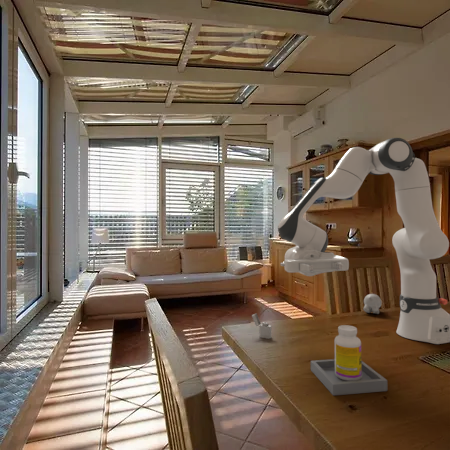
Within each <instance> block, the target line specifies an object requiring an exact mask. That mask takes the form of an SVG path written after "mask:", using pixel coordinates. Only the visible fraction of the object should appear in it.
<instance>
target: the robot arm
mask: <svg viewBox="0 0 450 450" xmlns="http://www.w3.org/2000/svg"><path fill="white" fill-rule="evenodd" d="M369 174H370V175H374V176H381V175H385V174H389V175H390V176H391V177H392V179H393V183H394V194H395V201H396V211H397V214H398V215H399V216H400V218H401V220H402V223H403V226H404V227H402V228H400V229H399V230H397V231H396V232H395V233H394V234H393V236H392V238H391V239H392V241H391V242H392V243H391V244H392V246H393V247H394V250H395V252H396V258H397V261H398V267H399V271H400V294H399V309H400V313H399V321H398V324H397V329H396V331H395V332H396V334H397V335H399V336H400V337H402V338H405V339H409V340H412V341H419V342H424V343H430V344H434V345H440V344H441V345H442V344H447V343H450V313H448V312H447V311H446V310H445V309H444V308H442V305H443V306H446V305H447V303H448V299H445V298H443V297H441V298H439V297H437V275H436V272H435V271H434V270H433V267H432V264H431V261H430V260H435V259H439V258H441V257H444V256H445V255H446V253H447V252H448V250H449V247H450V242H449V239H448V237H447V235H446V234H445V233H444V232H443V231H442V229H441V227H440V224H439V221H438V220H437V217H436V215H435V210H434V207H433V201H432V193H431V185H430V177H429V173H428V171H427V166H426V164H425V162H424V161H423V160H422V159H420V158H417V157H416V155H415V153H414V152H413V149H412V146H411V145H410V143H409V142H408V141H407V140H406V139H405V138H401V137H391V138H388V139H386V140H384V141H380V142H379V143H377V144H376V145H374V146H373V147H371V148H369V149H366V148H363V147H361V146H353V147H351V148H349V149H348V150H347V151H346V152H345V153H344V155H343V156H342V157H341V158H340V159H339V161H338V163H336V166H335V167H334V169H333V170H332V172H331V173H330V174H329V175H327V176H326V177H320V178H318V179H317V180H316V181H314V183H313V184H312V185H311V186H310V187H309V188H308V189H307V190H306V191H305V192H304V194H303V195H302V196H301V197H300V198H299V200H298V201H297V202H296V203H295V205H294V206H293V207H292V208H291V209H290V210H289V211H288V212H287V214H285V216H283V217H282V218H281V220H280V222H279V223H278V225H277V232H278V234H279V236H280V237H279V238H281V239H282V240H285V241H287V242H288V243H291V244H293V245H295V246H293V247H290V248H288V249H287V250H286V252H285V254H284V261H283V262H280V266H281V267H284V271H285V272H287V273H298V274H301V275H304V276H306V277H315V275H316V276H317V275H320V274H324V273H332V272H340V271H341V272H342V271H343V272H344V271H345V272H346V271H349V267H350V262H349V259H348V258H347V257H345V256H344V257H343V256H341V255H337V254H335V253H334V252H332V251H331V252H330V251H326V250H327V248H328V246H329V245H328V244H329V237H328V234H327V231H325V230H324V229H322V228H321V227H319V226H317V225H315V224H314V223H312V222H310V221H308V219H307V220H306V219H305V218H304V215H305V213H306V212H307V211H308V210H309V208H311V206H312V205H314V203H315V202H316V200H318V199H319V198H323V197H324V198H331V199H339V200H345V199H346V200H347V199H349V198H353V196H355V195H356V193H357V192H358V191H359V190H360V188H361V186H362V185H363V182H364V180H365V179H366V177H367V176H368V175H369ZM441 304H442V305H441Z"/></svg>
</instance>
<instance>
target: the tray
mask: <svg viewBox="0 0 450 450" xmlns="http://www.w3.org/2000/svg"><path fill="white" fill-rule="evenodd" d="M361 362H362V377H361V379H360V380H358V381H345V380H342V379H340V378H338V377H337V376H336V375H335V358H333V359H332V358H331V359H319V360H318V359H317V360H310V371H311V372H312V374H314V375H315V377H316V378H317V379H318V380H319V382H321V383H322V384H323V386H324V387H325V388H326V389H327V391H329V393H330V394H331V395H332V396H343V395H354V394H365V393H368V394H369V393H378V392H379V393H380V392H387V391H388V379H386V378H385V377H384V376H383V375H381V374H380V373H378V372H377V371H376V370H374V368H372V367H371V366H370V365H368V364H367V363H366V362H364V361H363V360H361Z"/></svg>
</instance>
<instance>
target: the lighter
mask: <svg viewBox="0 0 450 450" xmlns="http://www.w3.org/2000/svg"><path fill="white" fill-rule="evenodd" d="M251 318H252V321H253V323H254V325H255V326H256V327H258V326H259V327H258V331H259V333H258V337H259V338H263V339H267V340H270V339H272V325H269V322H265V321H263V322H262V323H261V320H260V318H259V316H258V313H254V314H251Z"/></svg>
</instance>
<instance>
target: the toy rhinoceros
mask: <svg viewBox="0 0 450 450" xmlns="http://www.w3.org/2000/svg"><path fill="white" fill-rule="evenodd" d="M363 304H364V306H363V308H362V309H363V312H365V313H367V314H371V313H372V314H375V315H379V314H380V308H381V306H382V300H381V298H380V296H379V295H377V294H376V293H369V294H367V295H366V296H364V299H363Z"/></svg>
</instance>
